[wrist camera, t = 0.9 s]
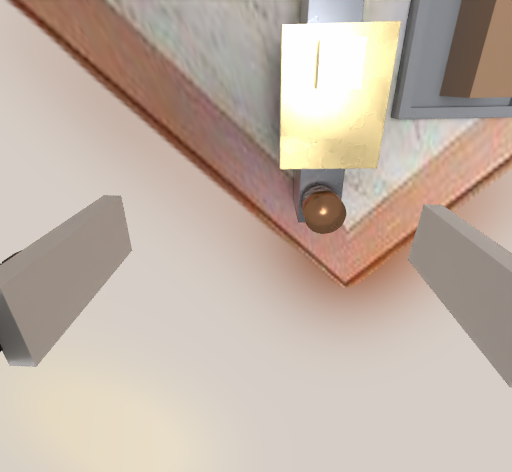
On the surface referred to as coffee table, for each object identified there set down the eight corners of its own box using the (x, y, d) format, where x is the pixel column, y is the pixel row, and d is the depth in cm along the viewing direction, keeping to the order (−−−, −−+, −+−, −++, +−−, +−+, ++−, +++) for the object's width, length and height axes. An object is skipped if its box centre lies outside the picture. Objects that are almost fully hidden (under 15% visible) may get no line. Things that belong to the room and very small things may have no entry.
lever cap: (281, 30, 23) (283, 21, 19) (388, 27, 22) (408, 17, 19) (279, 162, 27) (280, 172, 24) (367, 161, 27) (381, 171, 24)
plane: (302, -40, 26) (322, -115, 16) (348, -42, 26) (396, -118, 16) (293, 198, 36) (302, 240, 26) (326, 198, 36) (348, 240, 26)
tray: (421, -60, 25) (462, -99, 20) (569, -66, 25) (651, -108, 19) (390, 117, 32) (415, 123, 26) (508, 115, 31) (557, 121, 26)
